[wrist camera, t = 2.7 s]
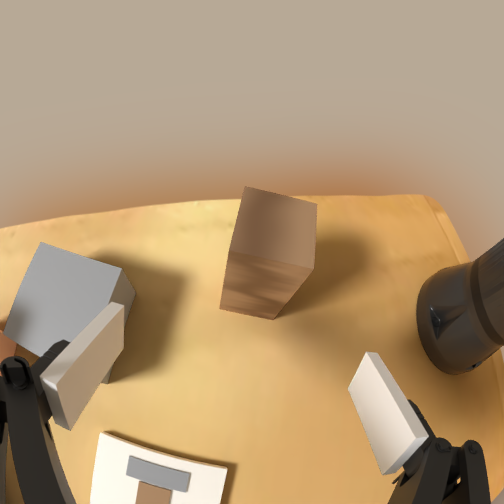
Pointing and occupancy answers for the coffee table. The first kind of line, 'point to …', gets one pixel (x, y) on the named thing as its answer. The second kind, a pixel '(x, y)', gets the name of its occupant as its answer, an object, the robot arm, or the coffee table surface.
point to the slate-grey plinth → (64, 298)
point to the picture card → (151, 476)
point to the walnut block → (268, 253)
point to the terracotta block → (6, 347)
